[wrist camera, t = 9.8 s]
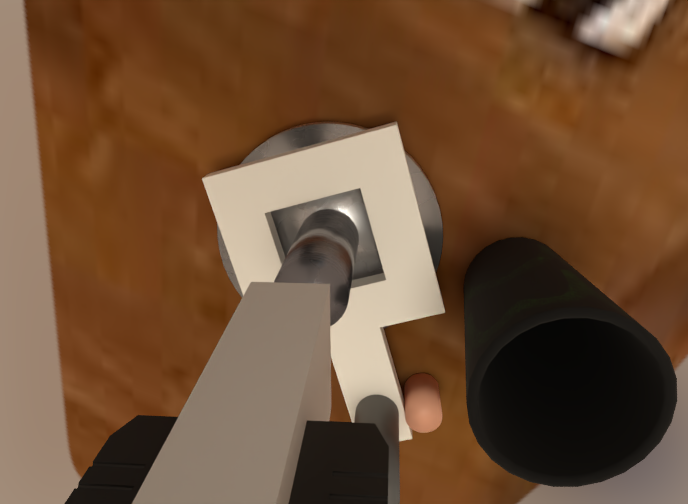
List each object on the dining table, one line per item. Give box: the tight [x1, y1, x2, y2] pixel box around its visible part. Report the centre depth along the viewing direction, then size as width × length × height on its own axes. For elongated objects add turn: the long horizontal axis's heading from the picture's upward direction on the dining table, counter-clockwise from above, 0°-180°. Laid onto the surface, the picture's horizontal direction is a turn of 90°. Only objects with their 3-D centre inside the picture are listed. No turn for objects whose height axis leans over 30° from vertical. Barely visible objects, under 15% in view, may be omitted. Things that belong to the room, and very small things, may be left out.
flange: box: [202, 122, 445, 504], centre depth 31 cm, size 17×10×8 cm, turn 16°
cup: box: [464, 237, 677, 487], centre depth 30 cm, size 8×8×12 cm
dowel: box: [404, 373, 442, 433], centre depth 37 cm, size 2×2×3 cm
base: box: [217, 121, 443, 329], centre depth 31 cm, size 12×12×9 cm
